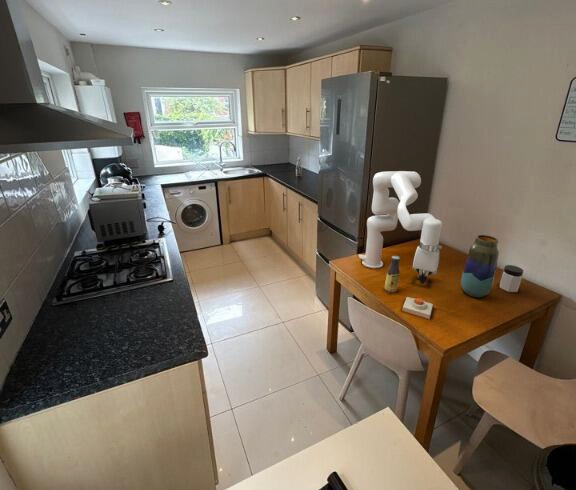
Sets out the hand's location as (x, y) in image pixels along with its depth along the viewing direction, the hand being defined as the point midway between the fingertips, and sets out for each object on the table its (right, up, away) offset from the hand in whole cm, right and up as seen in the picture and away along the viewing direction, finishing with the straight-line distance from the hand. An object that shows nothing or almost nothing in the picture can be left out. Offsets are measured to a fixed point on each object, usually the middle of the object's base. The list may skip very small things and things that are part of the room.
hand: (422, 282), depth 140 cm
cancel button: (0, -11, +4) cm, 11 cm away
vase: (+35, -9, +18) cm, 41 cm away
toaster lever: (+11, 0, +24) cm, 26 cm away
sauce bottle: (-8, -9, +20) cm, 23 cm away
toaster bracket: (+13, -5, +29) cm, 32 cm away
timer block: (0, -14, +5) cm, 15 cm away
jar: (+57, -8, +23) cm, 61 cm away
